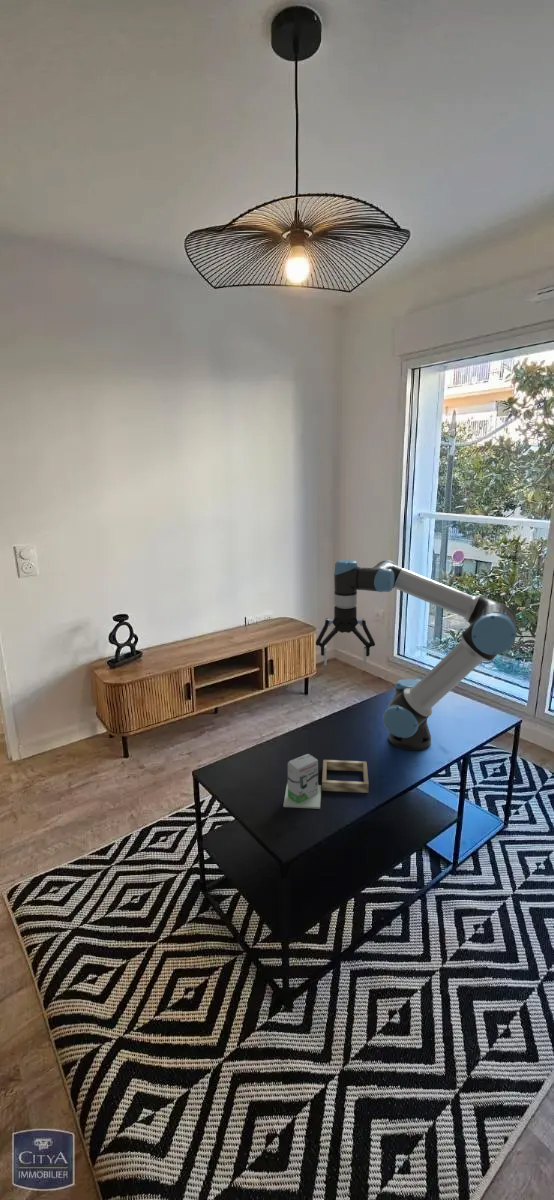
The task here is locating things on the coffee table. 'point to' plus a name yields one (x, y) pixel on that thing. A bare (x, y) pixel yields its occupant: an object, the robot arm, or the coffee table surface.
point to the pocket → (345, 785)
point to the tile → (304, 801)
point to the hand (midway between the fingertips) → (344, 664)
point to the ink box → (302, 778)
